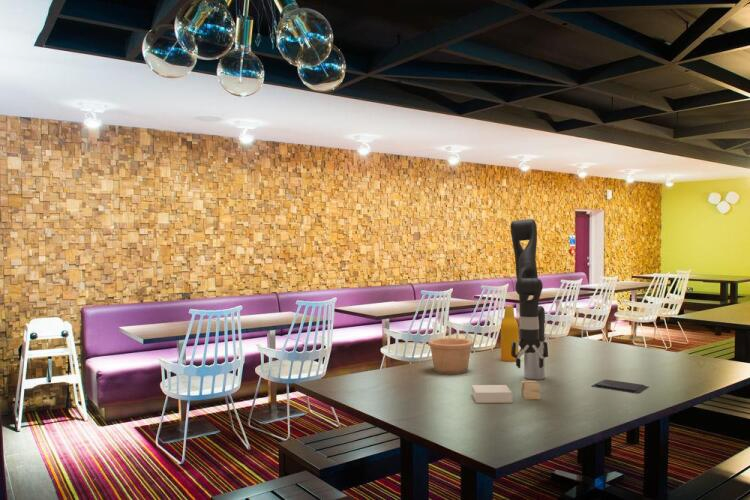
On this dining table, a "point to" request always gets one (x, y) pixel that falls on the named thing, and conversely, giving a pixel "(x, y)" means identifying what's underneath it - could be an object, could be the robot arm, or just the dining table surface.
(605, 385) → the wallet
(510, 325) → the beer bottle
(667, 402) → the dining table surface
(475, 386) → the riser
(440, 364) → the pottery
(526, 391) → the maple cube
